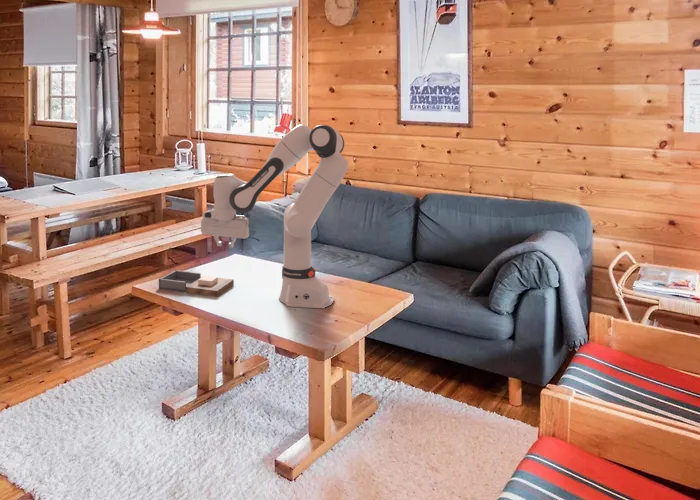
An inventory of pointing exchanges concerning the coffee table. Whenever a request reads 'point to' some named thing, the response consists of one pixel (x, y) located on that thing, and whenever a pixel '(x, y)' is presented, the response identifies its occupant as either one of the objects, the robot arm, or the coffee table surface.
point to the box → (178, 280)
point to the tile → (207, 280)
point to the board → (210, 287)
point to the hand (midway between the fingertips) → (225, 246)
